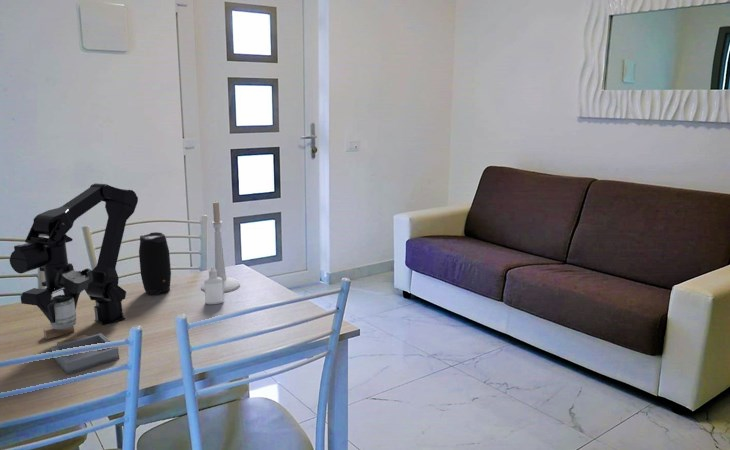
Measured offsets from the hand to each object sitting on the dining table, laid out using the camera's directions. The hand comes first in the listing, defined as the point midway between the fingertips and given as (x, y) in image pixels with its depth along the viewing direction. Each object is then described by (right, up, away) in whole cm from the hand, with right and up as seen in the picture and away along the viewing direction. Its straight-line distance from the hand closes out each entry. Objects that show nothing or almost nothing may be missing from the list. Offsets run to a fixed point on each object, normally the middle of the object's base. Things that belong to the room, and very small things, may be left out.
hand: (63, 317), depth 148 cm
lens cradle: (0, -7, +2) cm, 7 cm away
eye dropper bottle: (+33, 0, +29) cm, 44 cm away
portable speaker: (+11, +2, +39) cm, 40 cm away
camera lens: (0, -2, +1) cm, 2 cm away
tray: (+10, -9, -8) cm, 16 cm away
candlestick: (+31, +3, +44) cm, 53 cm away
